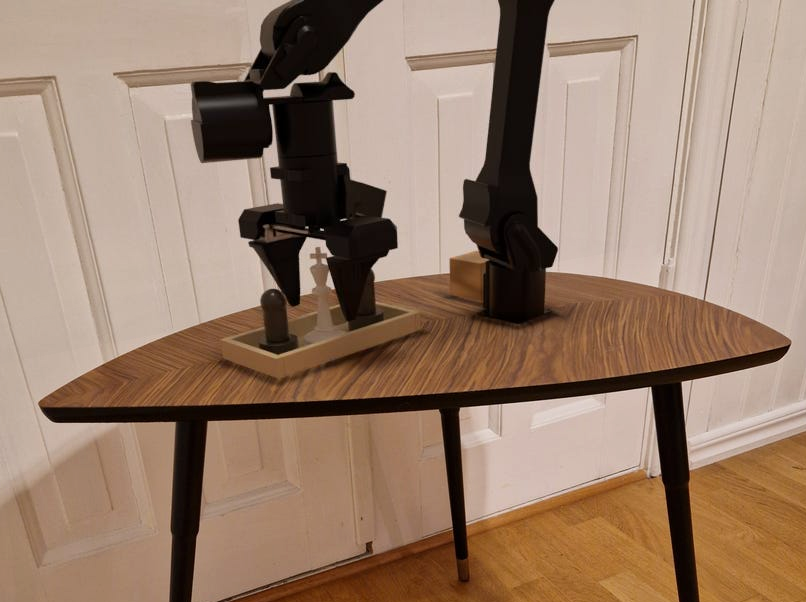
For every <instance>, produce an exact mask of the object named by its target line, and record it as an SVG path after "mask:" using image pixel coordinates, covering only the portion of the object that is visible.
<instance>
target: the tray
mask: <svg viewBox="0 0 806 602" xmlns="http://www.w3.org/2000/svg"><path fill="white" fill-rule="evenodd" d="M375 301H376V308H380V309H382V310H383V313H384V321H381V322H378V323H375V324H372V325H369V326H366V327H363V328H360V329H357V330H354V331H351V332H349V329H348V322H347V321H346V320H345V318H344V315H343V313H342V310H341V307H340V304H339V303H338V304H336V305H333V306H329V310H330V315H331V319H332V323H333V325H335V326H336V328H335V329H340V330H343V331H345V332H347V333H344V334H341V335H338V336H335V337H332V338H329V339H326V340H323V341H320V342H317V343H314V344H310V345H307V346H304V344H303V343H304V336H305V335H306V334H307V333H309V332H312V331H314V330H315V329H314V328H315V327H316V326H317V313H318V310H315V311H312V312H308V313H305V314H302V315H298V316H295V317H292V318H291V317H290V318H288V327H289V334H294V335H296V336H297V337H298V345H299V348H298V349H295V350H292V351H289V352H286V353H283V354H280V355H276V354H274V353H271V352H268V351H265V350H262V349H259V344H258V340H259V339H260V338H262V337H264V336H265V328H264V326H261V327H258V328H255V329H250V330H247V331H244V332H241V333H238V334H234V335H230V336H228V337H224V338H220V340H219V341H220V348H221V355H222V358H223V359H224V360H227V361H228V362H232V363H234V364H237V365H239V366H242V367H246V368H248V369H250V370H253V371H256V372H258V373H260V374H261V373H262V374H264V375H266V376H270V377H272V378H275V379H277V380H280V379H282V378H285V377H288V376H291V375H294V374H297V373H299V372H303V371H306V370H309V369H311V368H314V367H317V366H320V365H323V364H326V363H329V362H332V361H335V360H337V359H340V358H343V357H346V356H349V355H352V354H355V353H358V352H360V351H363V350H367V349H369V348H372V347H375V346H378V345H381V344H383V343H386V342H389V341H392V340H394V339H399V338H401V337H404V336H406V335H409V334H412V333H416V332H418V331H421V327H422V326H421V312H420V311H419V310H415V309H411V308H406V307H402V306H398V305H394V304H389V303H386V302H380V301H377V300H375Z"/></svg>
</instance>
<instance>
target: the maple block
mask: <svg viewBox="0 0 806 602" xmlns="http://www.w3.org/2000/svg"><path fill="white" fill-rule="evenodd" d="M486 261H489V260H488V259H486V258H485V259H484V258H481V256H480V254H479V251H478V250H474V251H470V252H467V253H463V254H460V255H456V256H452V257H449V295H450V296H455V297H458V298H459V297H460V298H464V299H469V300H474V301H477V302H478V301H479V302H481V301H483V274H484V273H486Z"/></svg>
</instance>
